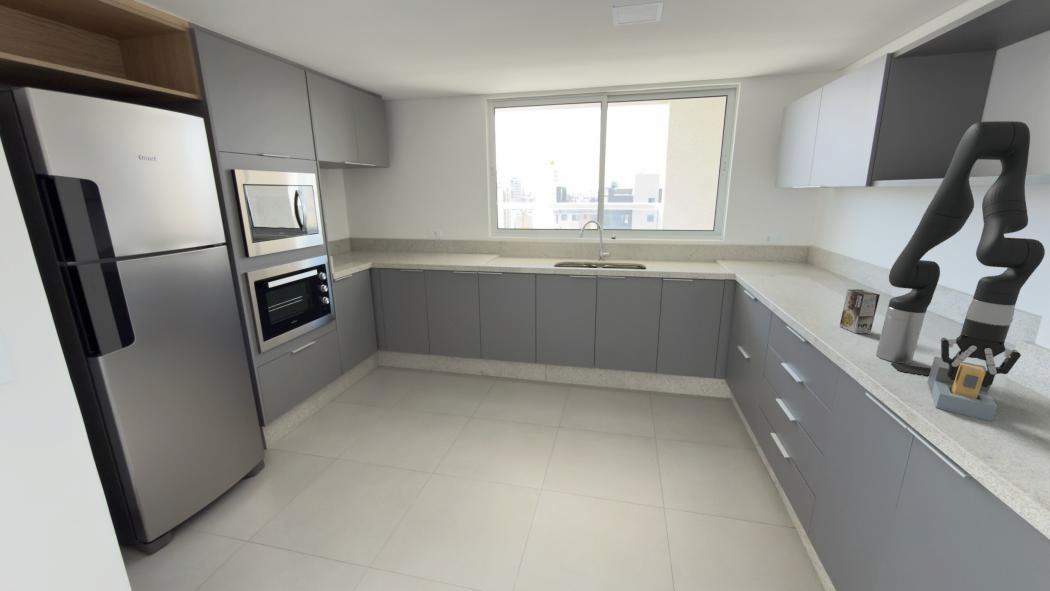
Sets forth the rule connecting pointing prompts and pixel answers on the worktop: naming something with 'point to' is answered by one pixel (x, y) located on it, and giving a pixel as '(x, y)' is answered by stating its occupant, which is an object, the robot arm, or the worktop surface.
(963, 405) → the socket block
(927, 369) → the phone
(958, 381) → the plug
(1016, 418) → the worktop surface
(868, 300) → the coffee box
